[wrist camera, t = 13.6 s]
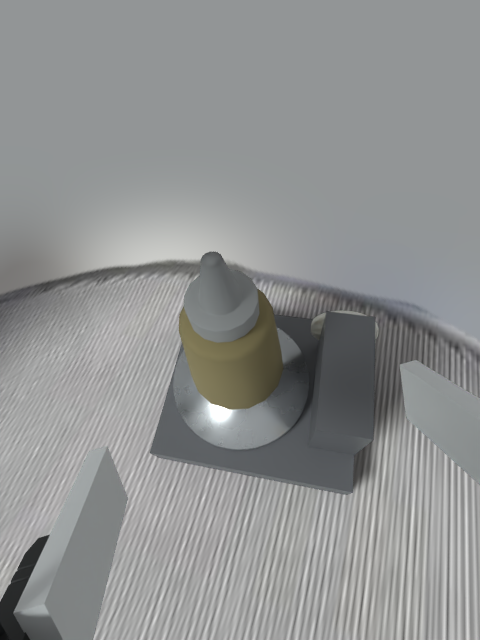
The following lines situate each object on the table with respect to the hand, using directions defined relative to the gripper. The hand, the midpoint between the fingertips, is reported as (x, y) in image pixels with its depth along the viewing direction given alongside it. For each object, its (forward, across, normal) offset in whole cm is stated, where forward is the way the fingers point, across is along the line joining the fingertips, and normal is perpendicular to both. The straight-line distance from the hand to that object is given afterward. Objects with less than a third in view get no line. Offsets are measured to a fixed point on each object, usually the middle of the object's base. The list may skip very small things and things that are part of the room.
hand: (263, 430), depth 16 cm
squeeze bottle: (+18, 0, -6) cm, 19 cm away
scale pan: (+19, 0, -6) cm, 20 cm away
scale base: (+20, +2, -9) cm, 22 cm away
